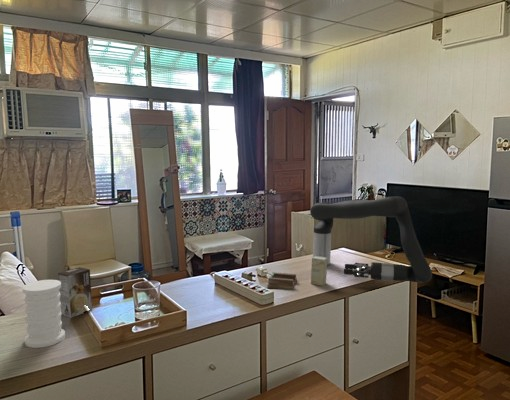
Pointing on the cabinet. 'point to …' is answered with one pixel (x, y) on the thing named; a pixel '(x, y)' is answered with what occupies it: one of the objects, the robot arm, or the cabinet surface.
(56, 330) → the decorative container
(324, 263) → the skincare box
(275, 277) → the rack
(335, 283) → the cabinet surface
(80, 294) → the coffee box
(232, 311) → the cabinet surface
